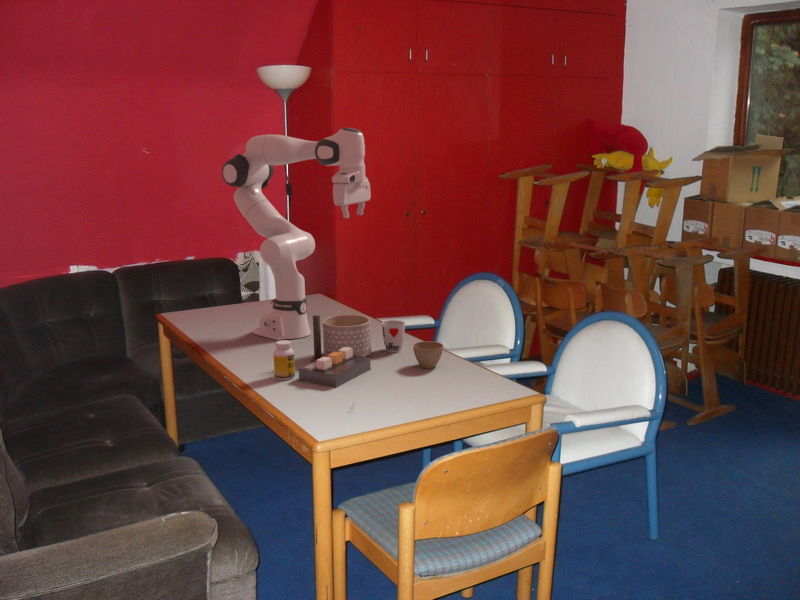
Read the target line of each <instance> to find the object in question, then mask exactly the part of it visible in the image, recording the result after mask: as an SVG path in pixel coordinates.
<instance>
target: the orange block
mask: <svg viewBox="0 0 800 600" xmlns="http://www.w3.org/2000/svg"><path fill="white" fill-rule="evenodd" d="M328 357H329V358H332V364H337V363H340V362H342V361H343V356H342V353H340V352H333V353H331V354H328Z"/></svg>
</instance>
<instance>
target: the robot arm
mask: <svg viewBox="0 0 800 600" xmlns="http://www.w3.org/2000/svg"><path fill="white" fill-rule="evenodd" d="M365 157H366V145H365V137H364V135H363V132H362V131H361V130H360V129H358V128H353V127H342V128H340V129H339V130H338V131H337V132H336V133H334V134H333V135H330V136H327V137H325V138H322V139H319V140H318V141H315V140H314V141H313V140H307V139H306V140H305V139H302V138H298V137H293V136H288V135H283V134H273V133H271V134H270V133H269V134H260V135H256V136H252V137H250V139H248V140H247V142H246V145H245V152H244V154H242V153H241V154H240V153H238V154H236V155H234V156H233V157H232V158H230V159H228V160H227V161H225V163H224V164H223V166H222V168H221V175H222V180H223V181H224V182H225V184H227V186H229V187H232V188H233V187H234V188H237V189H236V190H235V192H234V194H233V201H234V202H235V205H236V206H237V208H238V210H239V212H240V213H241V214H242V216H243V218H244V219H245V220H246V221H247V222H248V224H249V225H250V226H251V227H252V228H253V229H254V231H255V233H257V234H258V235H260V236H261V237H264V238H266V239H264V240H263V241H262V243H261V245H260V246H259V247H260V249H259V252H260V254H259V255H260V257H261V259H262V261H263V262H264V263H265V264H267V265H268V267H269V268H270V271H271V273H272V275H273V279H274V287H275V298H274V299H272V300H270V305H271V304H272V308H270V309H269V310H268V311H267V312H265V313H264V314H263V315H262V316H261V317H260V319H259V325H258V328H255V329H254V330H253V335H256V336H261V337H265V338H268V339H271V340H275V341H281V340H292V339H295V340H296V339H301V338H305V337H308V336H310V335H311V334H312V332H311V329H310V326H309V321H308V315H307V308H308V307H307V305H308V303H307V302H308V301H307V297H306V286H305V285H306V284H305V281H306V280H305V277H304V276H303V274H301V273H300V272H299V271H298V268H297V265H296V264H297V263H296V262H297V261H301V260H304V259H306V258H307V257H309V256H311V255H312V254H313V253H314V252H315V249H316V242H315V238H314V237H313V235H312V234H311V233H309V232H307V231H305V230H302V229H300V228H298V227H297V226H296V225H295V224H293V223H292V222H290V221H289V220H287V218H285V217H284V216H282V215H281V214H280V213H279V211H278V210H277V209H276V208H275V206H274V205H273V204H272V203H271V202H270V200H269V199H267V197H266V196H265V195H264V193H263V192H262V190H263V189H265V188H267V186H268V184H269V183H270V181H271V180H272V178H273V175H274V172H275V167H274V166H285V165H290V164H294V163H298V162H303V161H308V160H314V159H315V160H316V161H317V162H318V163H319V164H320V165H321V166H322V165H323V166H324V167H325V166H326V167H332V166H333V167H334V166H335V167H336V166H339V170H338V171H337V172H336V173H335V174H334V175H333V176H332V177H331V182H332V183H333V186H332V196H333V197H332V199H333V203H334V206H338V207H339V206H340V209H341V212H342V215H343V216H342V217H343V218H344V219H349V218H350V217H351V216H350V214H351V213H350V212H349V209H348V208H349V205H354V204H357V205H358V207H357V209H356V215H357V216H362V215H364V209H365V206H366V203H365V202H368V201H370V200H371V196H372V194H371V183H370V180H369V178H368V177H367V175H366V164H365Z"/></svg>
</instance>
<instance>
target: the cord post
mask: <svg viewBox="0 0 800 600" xmlns="http://www.w3.org/2000/svg"><path fill="white" fill-rule="evenodd" d="M312 328H313V329H312V331H313V355H314V356H313V358H311V359H310V363H312V362H314V361H316V360H318V359H320V358H322V357H323V356H322V337H321V336H322V335H321V334H322V332H321V315H319V314H315V315H313V316H312Z"/></svg>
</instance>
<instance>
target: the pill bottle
mask: <svg viewBox="0 0 800 600" xmlns="http://www.w3.org/2000/svg"><path fill="white" fill-rule="evenodd" d="M291 346H292V342H291V341H290V340H289V339H283V340H276V342H275V347H276V349H275V350H274V351H273V372H274V378H275V379H277V380H279V381H280V380H281V381H285V380H286V381H287V380H291V379H293V378H295V375H296V367H295V366H296V365H295V363H296V362H295V351H294V350H293V348H291Z"/></svg>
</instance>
